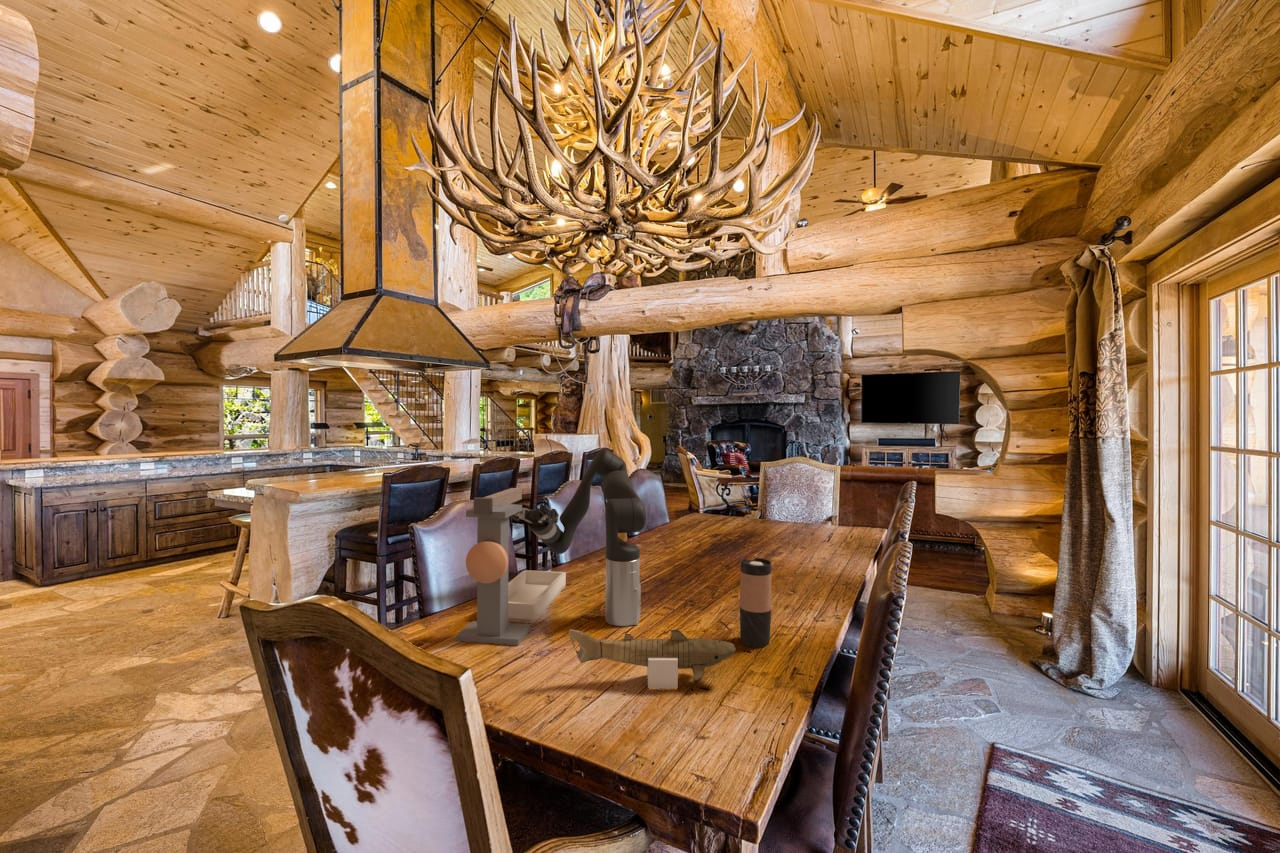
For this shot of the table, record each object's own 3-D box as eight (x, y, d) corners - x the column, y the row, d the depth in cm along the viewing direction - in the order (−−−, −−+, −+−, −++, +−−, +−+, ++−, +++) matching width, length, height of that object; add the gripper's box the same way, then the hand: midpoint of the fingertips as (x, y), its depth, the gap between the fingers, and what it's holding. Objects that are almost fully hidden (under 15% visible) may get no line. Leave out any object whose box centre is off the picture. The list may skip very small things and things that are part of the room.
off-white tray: (565, 587, 170) (565, 572, 170) (533, 623, 141) (534, 604, 141) (524, 585, 172) (524, 570, 172) (484, 619, 143) (484, 601, 143)
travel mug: (762, 651, 125) (764, 567, 125) (733, 642, 130) (734, 562, 129) (775, 640, 131) (776, 560, 131) (747, 632, 136) (748, 555, 136)
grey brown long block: (523, 500, 146) (523, 486, 146) (489, 514, 124) (489, 498, 124) (509, 500, 146) (509, 486, 146) (473, 514, 124) (473, 498, 124)
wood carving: (570, 671, 114) (570, 620, 114) (730, 671, 115) (731, 621, 115) (565, 693, 105) (565, 638, 105) (739, 693, 106) (739, 638, 106)
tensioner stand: (532, 629, 137) (533, 505, 136) (516, 647, 126) (517, 512, 125) (474, 625, 139) (474, 503, 138) (453, 642, 128) (454, 510, 128)
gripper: (523, 512, 171) (506, 493, 157) (565, 514, 169) (552, 495, 155) (519, 534, 168) (501, 517, 153) (562, 536, 165) (548, 519, 151)
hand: (527, 506), depth 154 cm, fingers open, 8 cm apart
